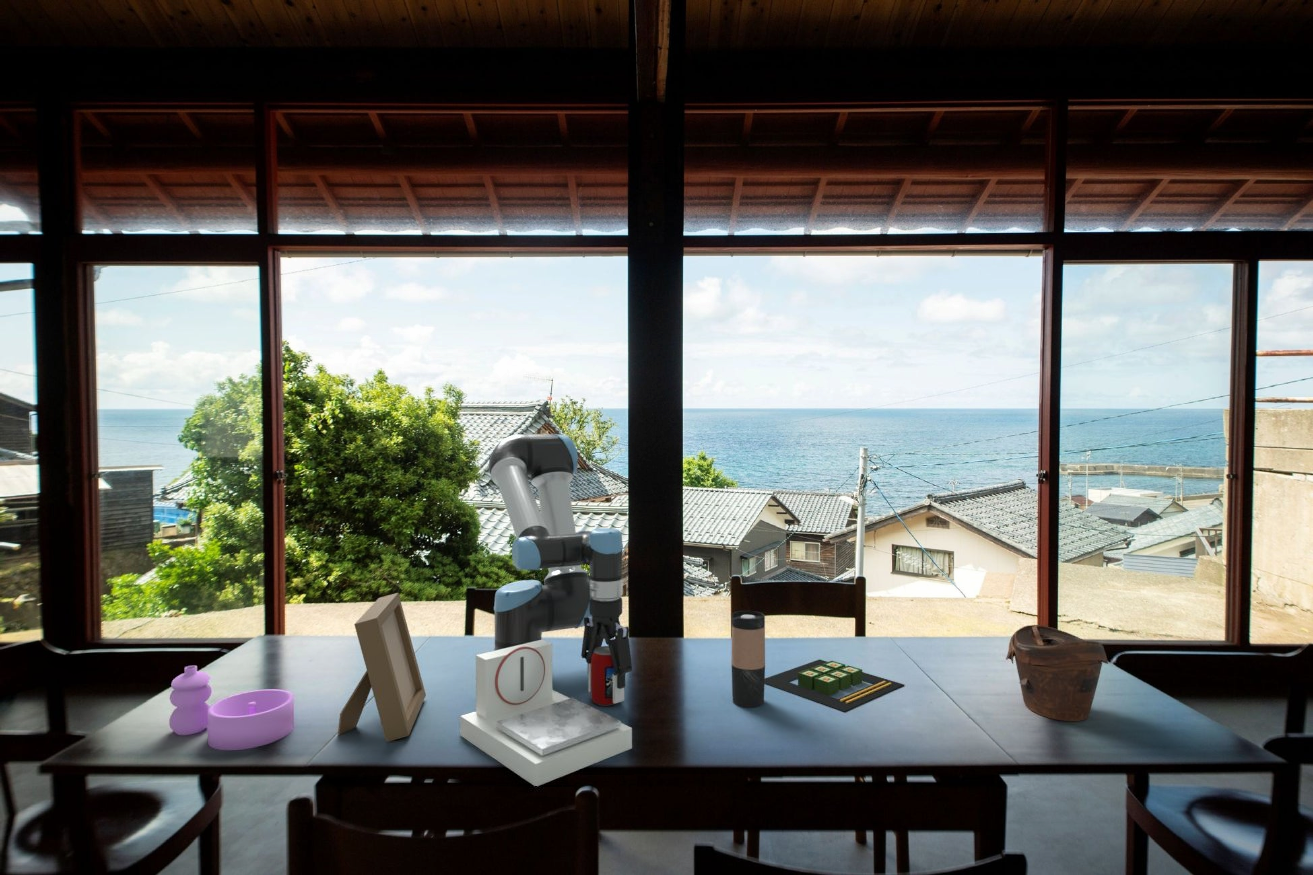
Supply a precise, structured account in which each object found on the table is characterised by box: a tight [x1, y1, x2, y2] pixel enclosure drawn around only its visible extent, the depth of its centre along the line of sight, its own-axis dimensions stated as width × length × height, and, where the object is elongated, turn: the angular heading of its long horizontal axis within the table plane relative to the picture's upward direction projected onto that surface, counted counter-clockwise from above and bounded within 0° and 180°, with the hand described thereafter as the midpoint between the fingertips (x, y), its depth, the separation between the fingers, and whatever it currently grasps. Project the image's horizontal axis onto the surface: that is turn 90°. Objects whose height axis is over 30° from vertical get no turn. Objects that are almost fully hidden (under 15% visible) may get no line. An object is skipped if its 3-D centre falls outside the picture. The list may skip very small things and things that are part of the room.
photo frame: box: [337, 592, 427, 743], centre depth 151 cm, size 15×22×25 cm
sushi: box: [765, 658, 905, 713], centre depth 173 cm, size 25×25×4 cm
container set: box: [168, 665, 295, 751], centre depth 145 cm, size 25×15×13 cm, turn 83°
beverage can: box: [590, 645, 620, 707], centre depth 161 cm, size 7×7×12 cm
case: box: [1005, 624, 1109, 722], centre depth 157 cm, size 18×20×18 cm
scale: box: [459, 639, 633, 787], centre depth 141 cm, size 28×22×17 cm
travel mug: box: [731, 610, 766, 709], centre depth 161 cm, size 8×8×20 cm
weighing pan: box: [496, 697, 622, 756], centre depth 137 cm, size 16×18×1 cm
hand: (606, 695), depth 161 cm, fingers open, 8 cm apart
